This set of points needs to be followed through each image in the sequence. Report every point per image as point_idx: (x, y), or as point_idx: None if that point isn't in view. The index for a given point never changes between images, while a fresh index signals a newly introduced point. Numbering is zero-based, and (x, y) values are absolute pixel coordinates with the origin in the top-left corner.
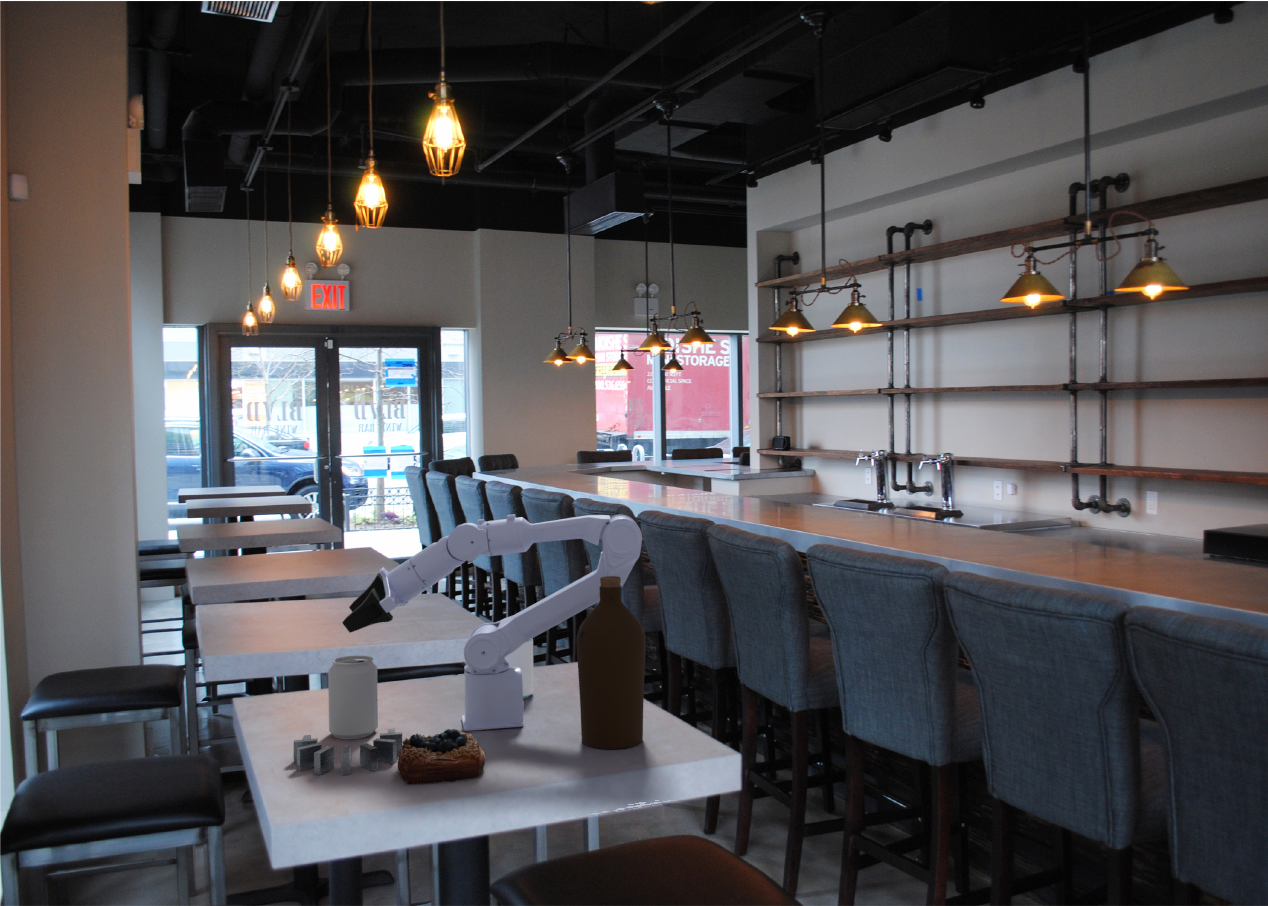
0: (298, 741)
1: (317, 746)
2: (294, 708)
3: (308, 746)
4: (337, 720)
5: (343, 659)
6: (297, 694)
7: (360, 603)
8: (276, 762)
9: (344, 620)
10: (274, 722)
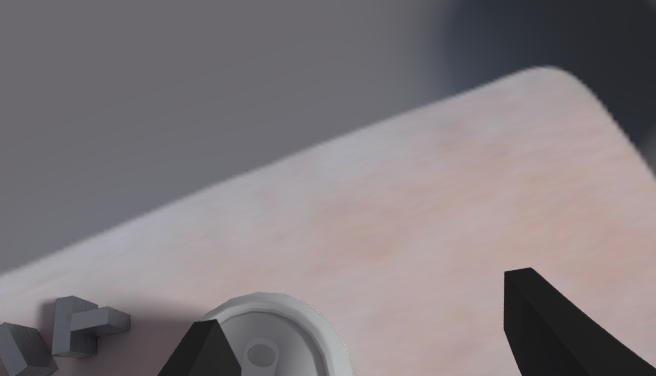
0: (58, 309)
1: (8, 370)
2: (496, 179)
3: (4, 348)
4: None
5: (246, 346)
6: (612, 149)
7: (544, 353)
8: (100, 268)
9: (186, 335)
10: (386, 173)
